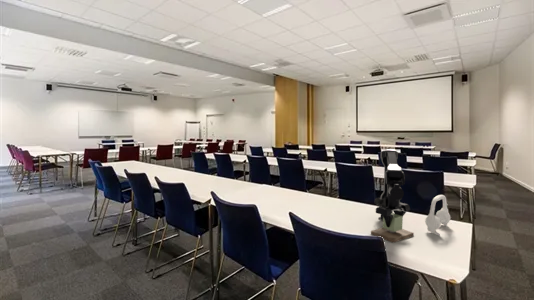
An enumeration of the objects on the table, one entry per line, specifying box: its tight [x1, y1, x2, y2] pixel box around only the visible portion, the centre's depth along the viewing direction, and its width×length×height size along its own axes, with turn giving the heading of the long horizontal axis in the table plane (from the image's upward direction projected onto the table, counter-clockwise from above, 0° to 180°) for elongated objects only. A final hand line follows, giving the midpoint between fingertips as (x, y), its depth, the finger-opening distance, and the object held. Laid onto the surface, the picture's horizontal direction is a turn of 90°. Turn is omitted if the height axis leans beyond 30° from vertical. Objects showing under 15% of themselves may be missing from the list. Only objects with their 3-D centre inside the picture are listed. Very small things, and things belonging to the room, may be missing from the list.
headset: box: [425, 194, 452, 236], centre depth 137 cm, size 20×7×18 cm, turn 130°
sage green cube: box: [382, 212, 404, 232], centre depth 129 cm, size 6×6×7 cm
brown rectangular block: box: [370, 227, 415, 243], centre depth 130 cm, size 16×12×7 cm
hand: (392, 226), depth 130 cm, fingers closed on sage green cube, 6 cm apart
